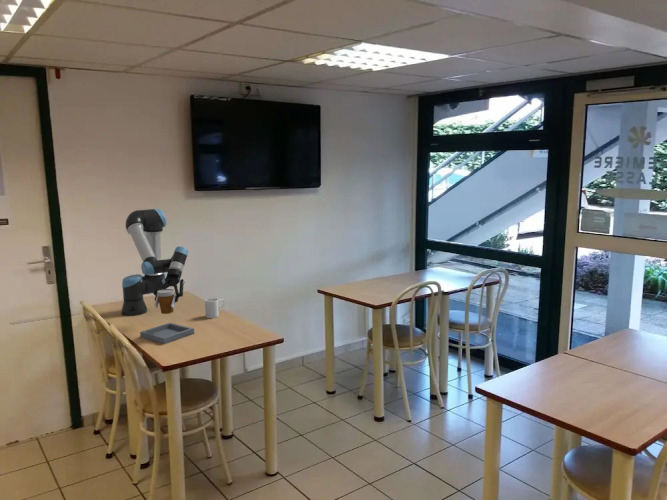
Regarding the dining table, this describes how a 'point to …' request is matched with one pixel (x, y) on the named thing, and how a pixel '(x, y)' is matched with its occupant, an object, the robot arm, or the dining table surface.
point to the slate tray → (167, 333)
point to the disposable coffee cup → (165, 300)
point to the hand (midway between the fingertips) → (164, 306)
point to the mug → (212, 307)
